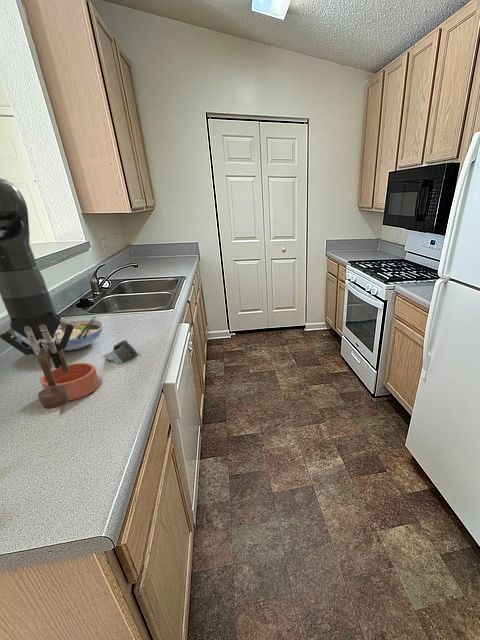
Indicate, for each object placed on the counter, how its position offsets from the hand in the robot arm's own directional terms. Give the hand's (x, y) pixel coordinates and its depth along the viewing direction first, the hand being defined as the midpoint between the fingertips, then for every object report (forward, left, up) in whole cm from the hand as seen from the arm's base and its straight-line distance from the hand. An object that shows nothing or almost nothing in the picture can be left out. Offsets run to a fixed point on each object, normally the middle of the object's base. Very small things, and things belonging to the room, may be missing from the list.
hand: (53, 367), depth 74 cm
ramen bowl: (-6, +63, -19) cm, 66 cm away
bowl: (-3, +25, -19) cm, 31 cm away
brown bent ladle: (0, 0, -5) cm, 5 cm away
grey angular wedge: (+9, +43, -19) cm, 48 cm away
